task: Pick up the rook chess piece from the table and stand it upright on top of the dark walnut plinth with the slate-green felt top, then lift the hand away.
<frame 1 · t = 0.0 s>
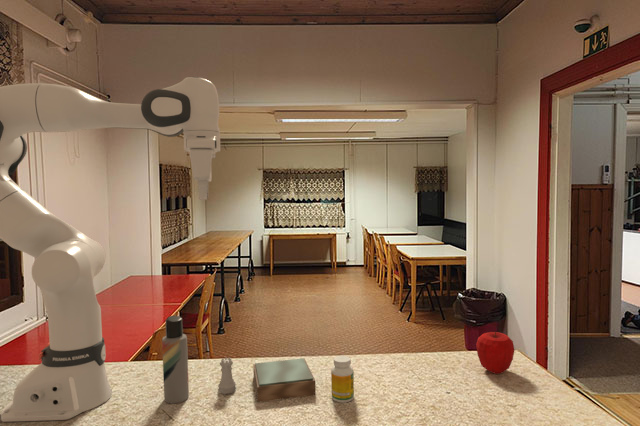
hand: (204, 199, 109), 48 cm above the countertop, fingers open, 8 cm apart
walnut plinth: (283, 385, 110), on the countertop
lotion bottle: (176, 399, 105), on the countertop
rook chess piece: (227, 391, 108), on the countertop
apple: (494, 371, 117), on the countertop
supplement bottle: (342, 398, 104), on the countertop
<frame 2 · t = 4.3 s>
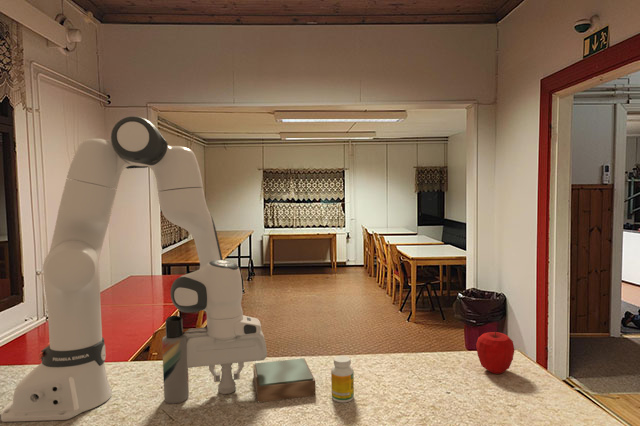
hand: (226, 379, 108), 3 cm above the countertop, fingers closed on rook chess piece, 3 cm apart
rook chess piece: (227, 391, 108), on the countertop, touching gripper
everything else where it was.
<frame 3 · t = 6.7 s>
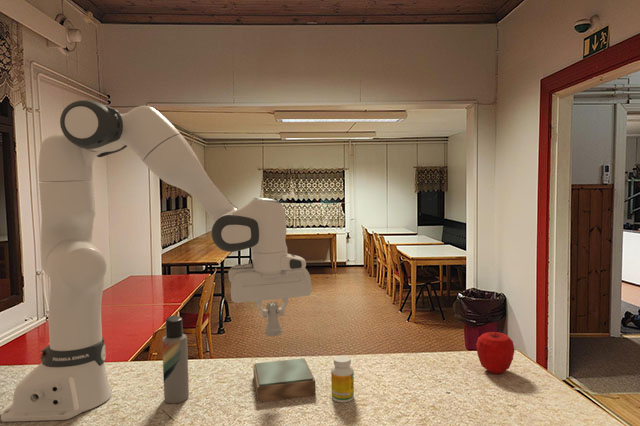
hand: (272, 316, 109), 18 cm above the countertop, fingers closed on rook chess piece, 3 cm apart
rook chess piece: (273, 334, 110), point 13 cm above the countertop, touching gripper
everything else where it was.
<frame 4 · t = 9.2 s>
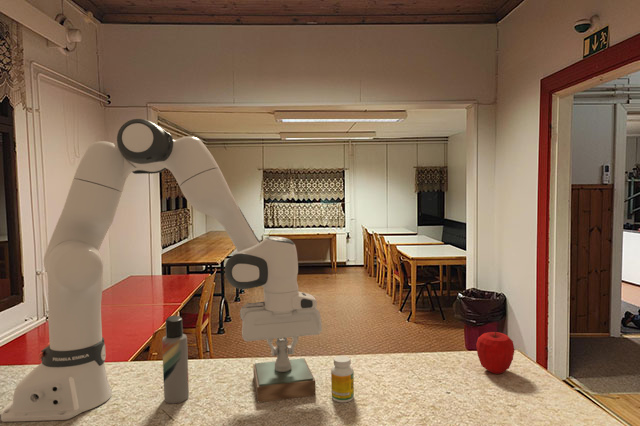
hand: (282, 354, 110), 8 cm above the countertop, fingers closed on rook chess piece, 3 cm apart
rook chess piece: (283, 369, 111), point 4 cm above the countertop, touching gripper, walnut plinth
everything else where it was.
when the fingers open (8 cm above the countertop, at t = 9.3 s): rook chess piece stays where it is, resting on walnut plinth.
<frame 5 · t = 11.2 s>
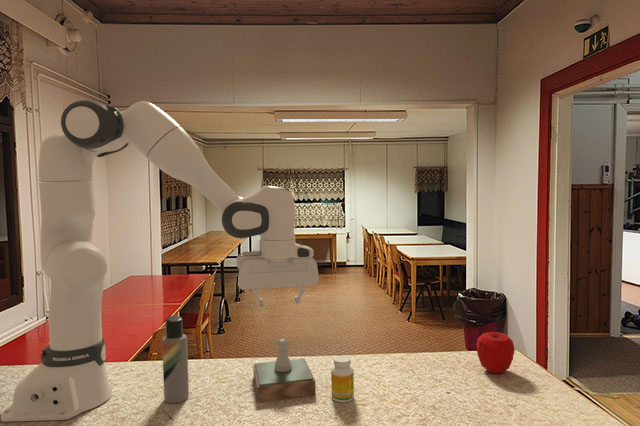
hand: (279, 304, 110), 21 cm above the countertop, fingers open, 8 cm apart
rook chess piece: (283, 370, 111), point 4 cm above the countertop, touching walnut plinth
everything else where it was.
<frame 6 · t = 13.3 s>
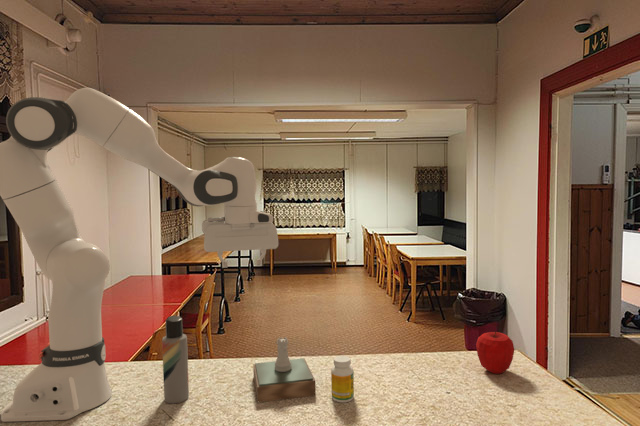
hand: (242, 266, 120), 29 cm above the countertop, fingers open, 8 cm apart
nothing on the countertop moved.
at the end: rook chess piece inside the target area on the walnut plinth (0.7 cm from its centre), point 3.8 cm above the walnut plinth's base; rook chess piece tilted 0°; the gripper is holding nothing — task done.
